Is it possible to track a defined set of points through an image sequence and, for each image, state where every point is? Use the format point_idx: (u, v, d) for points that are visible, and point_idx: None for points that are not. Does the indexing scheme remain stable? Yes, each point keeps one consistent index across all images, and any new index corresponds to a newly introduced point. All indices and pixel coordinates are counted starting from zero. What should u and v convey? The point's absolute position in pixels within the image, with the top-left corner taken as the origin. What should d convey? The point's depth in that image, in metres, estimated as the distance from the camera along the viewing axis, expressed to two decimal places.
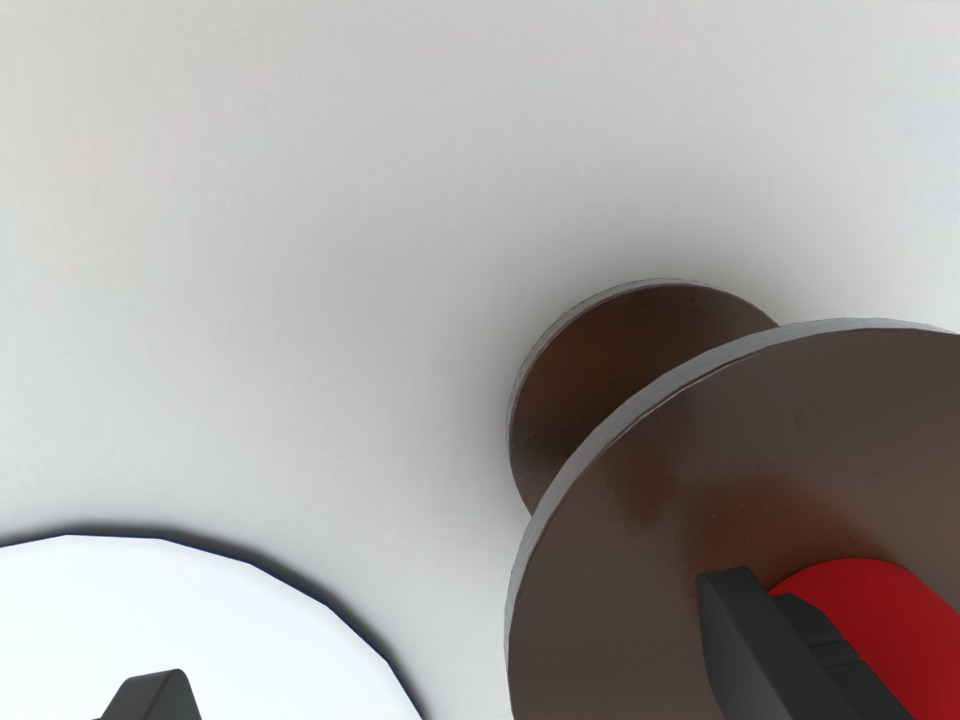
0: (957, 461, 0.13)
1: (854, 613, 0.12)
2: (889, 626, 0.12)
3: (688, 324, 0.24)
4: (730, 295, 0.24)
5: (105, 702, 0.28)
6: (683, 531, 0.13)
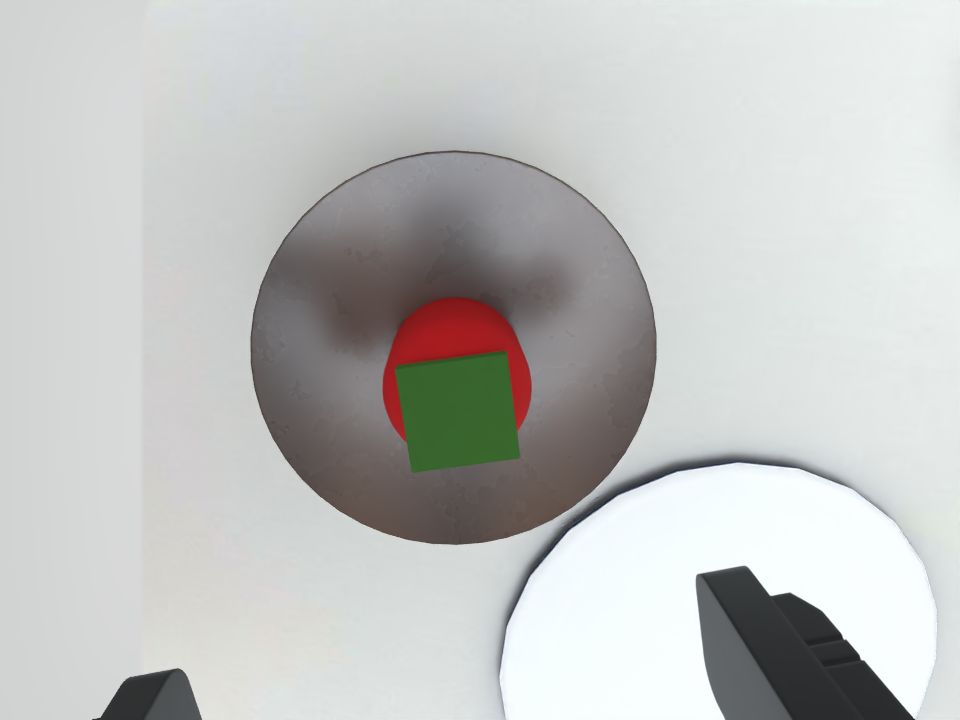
0: (330, 304, 0.22)
1: None
2: None
3: None
4: None
5: (630, 669, 0.41)
6: (370, 454, 0.24)
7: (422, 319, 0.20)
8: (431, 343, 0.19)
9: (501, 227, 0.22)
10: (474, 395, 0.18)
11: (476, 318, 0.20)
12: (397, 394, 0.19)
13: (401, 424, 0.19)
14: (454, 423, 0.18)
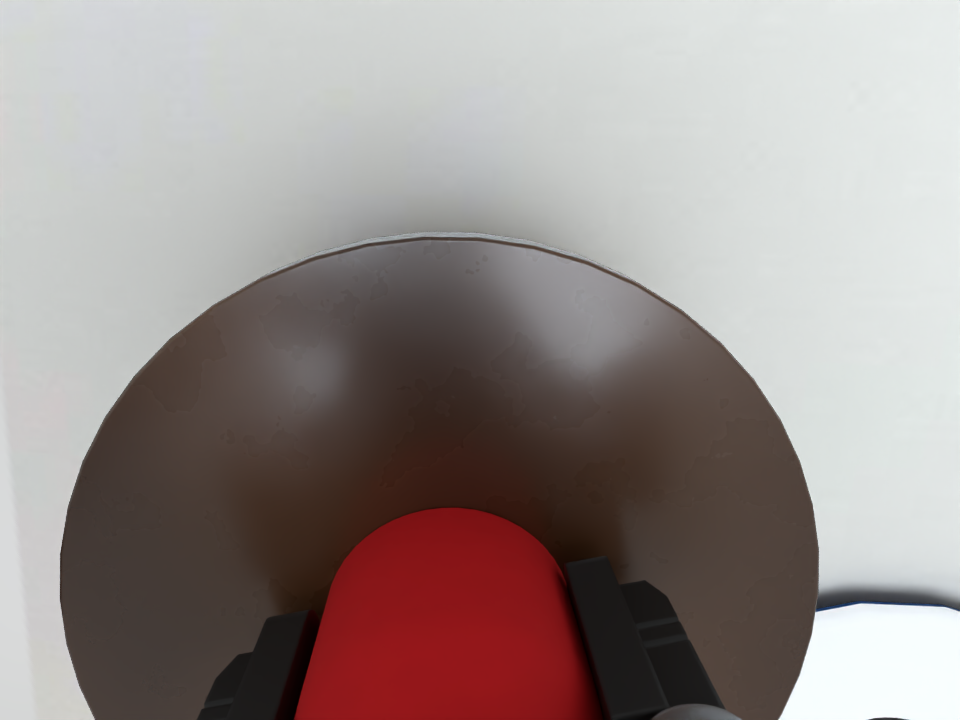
0: (203, 532, 0.12)
1: None
2: None
3: None
4: None
5: None
6: None
7: (370, 604, 0.10)
8: (382, 715, 0.08)
9: (522, 377, 0.11)
10: None
11: (482, 616, 0.09)
12: None
13: None
14: None
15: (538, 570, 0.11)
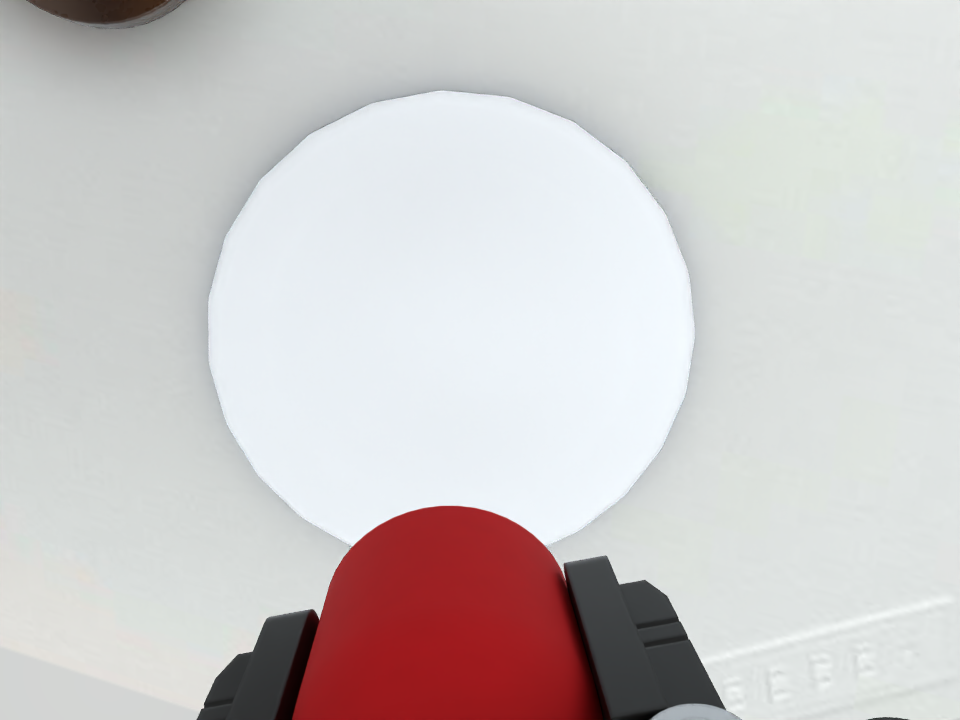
0: None
1: None
2: None
3: None
4: None
5: (360, 358, 0.38)
6: None
7: (368, 602, 0.10)
8: (382, 713, 0.08)
9: None
10: None
11: (481, 614, 0.09)
12: None
13: None
14: None
15: (537, 568, 0.11)
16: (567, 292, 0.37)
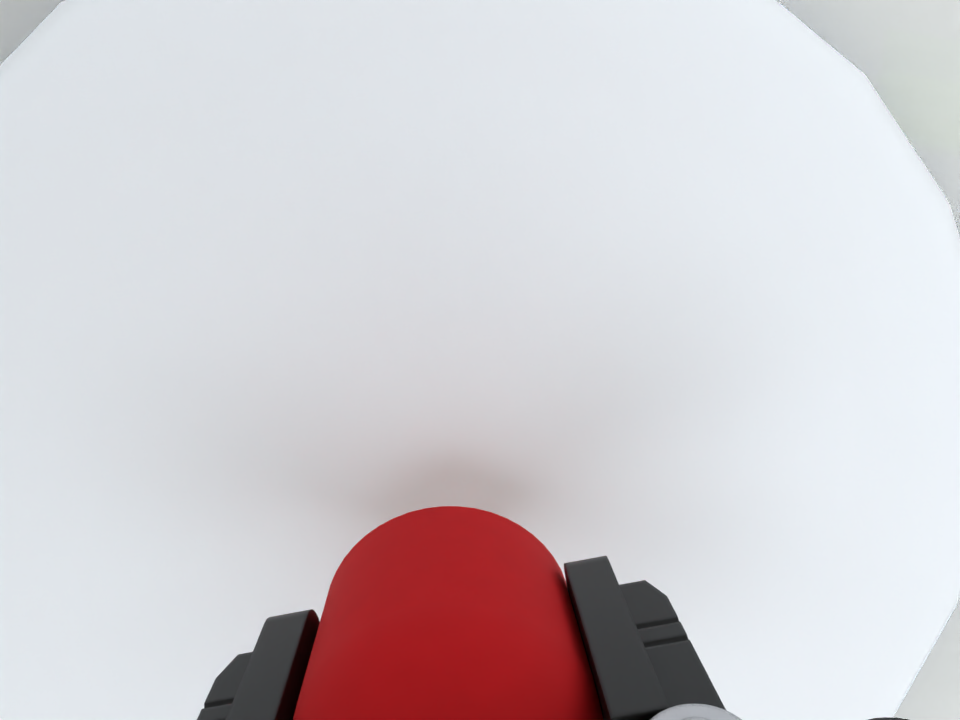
0: None
1: None
2: None
3: None
4: None
5: (231, 535, 0.17)
6: None
7: (369, 603, 0.10)
8: (382, 712, 0.08)
9: None
10: None
11: (482, 614, 0.09)
12: None
13: None
14: None
15: (538, 568, 0.11)
16: (700, 386, 0.16)
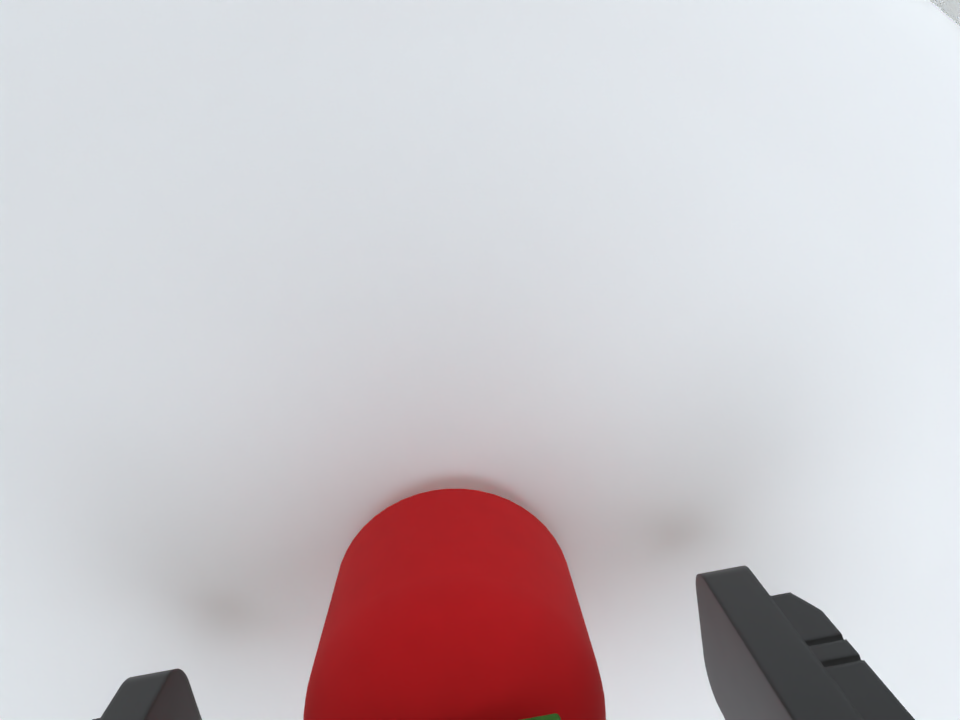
0: None
1: None
2: None
3: None
4: None
5: (193, 606, 0.14)
6: None
7: (379, 576, 0.10)
8: (392, 675, 0.09)
9: None
10: None
11: (486, 586, 0.10)
12: None
13: None
14: None
15: (539, 547, 0.11)
16: (761, 429, 0.13)
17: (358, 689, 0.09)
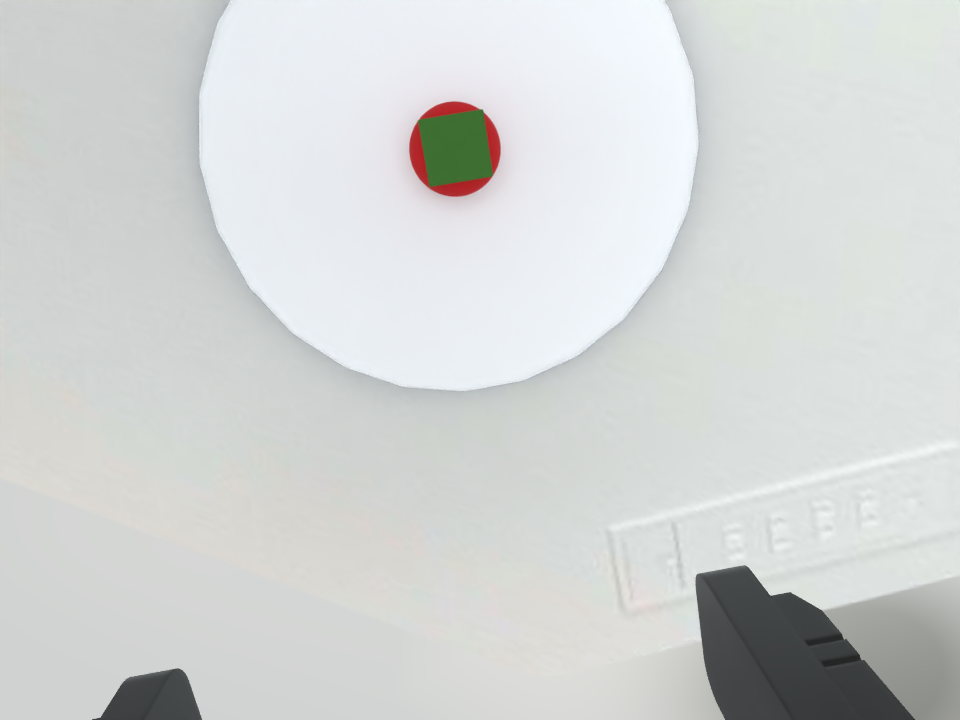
0: None
1: None
2: None
3: None
4: None
5: (355, 164, 0.37)
6: None
7: None
8: (438, 112, 0.31)
9: None
10: (464, 135, 0.31)
11: None
12: (419, 144, 0.32)
13: (422, 164, 0.32)
14: (453, 153, 0.31)
15: None
16: (568, 97, 0.36)
17: (428, 118, 0.32)
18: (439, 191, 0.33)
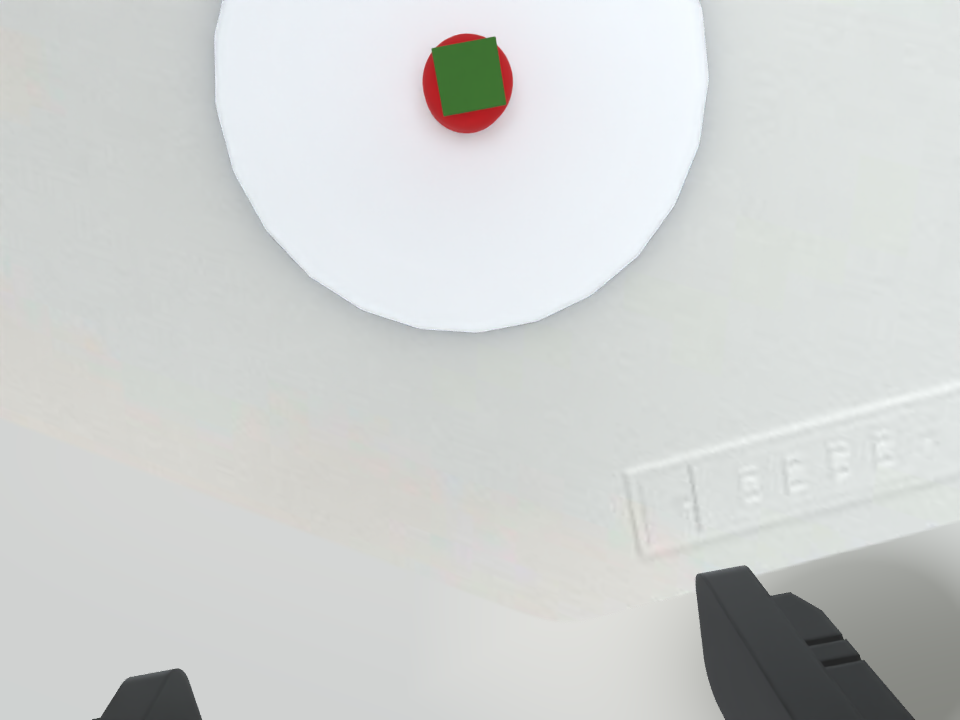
0: None
1: None
2: None
3: None
4: None
5: (368, 105, 0.37)
6: None
7: None
8: (451, 42, 0.32)
9: None
10: (477, 63, 0.31)
11: None
12: (432, 75, 0.32)
13: (435, 95, 0.32)
14: (466, 81, 0.31)
15: None
16: (578, 35, 0.37)
17: None
18: (453, 123, 0.33)
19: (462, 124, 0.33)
